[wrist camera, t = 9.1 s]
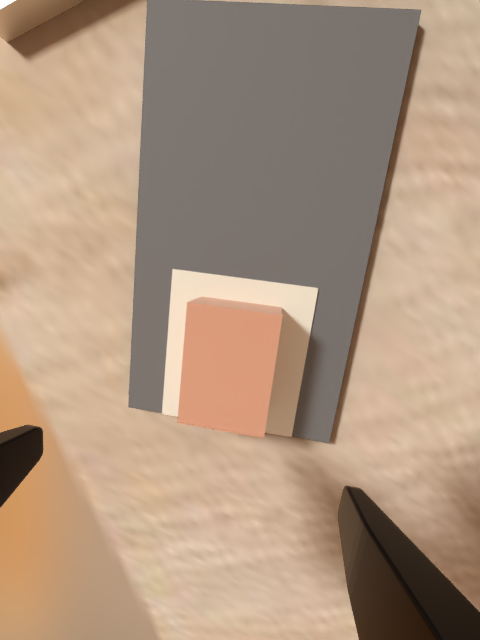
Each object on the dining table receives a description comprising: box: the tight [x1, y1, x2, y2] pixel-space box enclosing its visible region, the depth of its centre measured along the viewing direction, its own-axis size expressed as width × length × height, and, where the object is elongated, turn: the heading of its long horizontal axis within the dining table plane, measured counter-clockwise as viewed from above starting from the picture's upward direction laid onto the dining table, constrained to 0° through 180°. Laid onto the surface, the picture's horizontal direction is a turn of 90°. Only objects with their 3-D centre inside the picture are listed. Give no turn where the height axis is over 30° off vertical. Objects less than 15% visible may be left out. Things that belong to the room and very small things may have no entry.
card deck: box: [177, 296, 283, 438], centre depth 16 cm, size 7×5×3 cm
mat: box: [128, 0, 421, 443], centre depth 17 cm, size 14×24×1 cm, turn 173°
